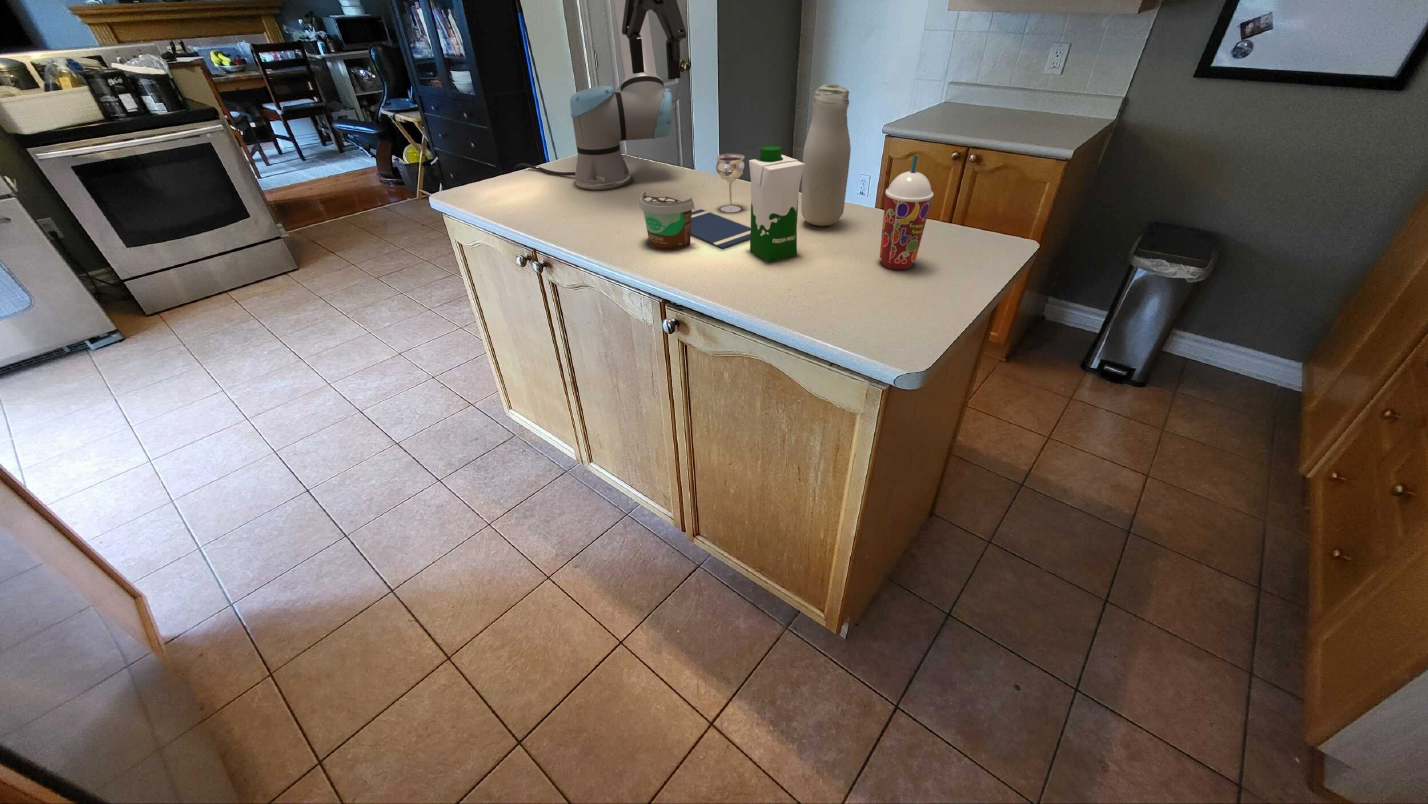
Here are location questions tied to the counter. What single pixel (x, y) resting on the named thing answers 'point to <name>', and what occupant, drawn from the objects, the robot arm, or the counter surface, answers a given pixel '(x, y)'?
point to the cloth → (717, 229)
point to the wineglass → (730, 174)
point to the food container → (667, 221)
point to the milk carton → (774, 204)
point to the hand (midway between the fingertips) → (655, 76)
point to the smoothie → (904, 218)
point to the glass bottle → (826, 157)
